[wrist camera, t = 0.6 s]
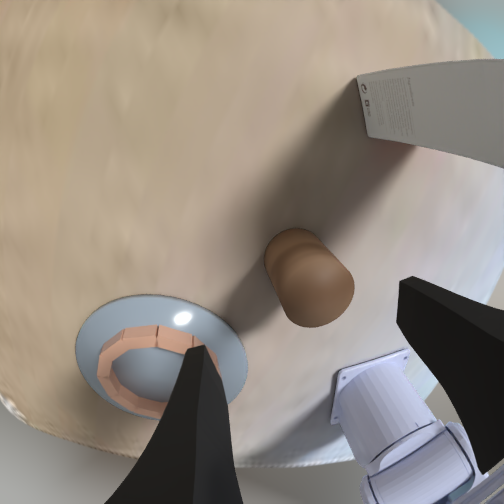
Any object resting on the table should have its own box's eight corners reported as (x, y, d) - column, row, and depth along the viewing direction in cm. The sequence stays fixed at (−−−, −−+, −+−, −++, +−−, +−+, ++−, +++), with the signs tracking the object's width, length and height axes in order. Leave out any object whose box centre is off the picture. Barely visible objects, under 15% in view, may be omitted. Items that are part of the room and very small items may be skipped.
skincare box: (366, 139, 17) (527, 180, 6) (353, 75, 15) (515, 55, 5) (432, 129, 18) (573, 164, 7) (423, 73, 16) (567, 76, 5)
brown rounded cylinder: (321, 278, 21) (351, 318, 16) (266, 288, 20) (284, 333, 16) (321, 224, 19) (356, 256, 15) (261, 232, 19) (281, 269, 14)
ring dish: (254, 406, 26) (257, 421, 24) (115, 418, 24) (113, 432, 23) (235, 280, 20) (238, 294, 18) (51, 305, 18) (42, 319, 17)
